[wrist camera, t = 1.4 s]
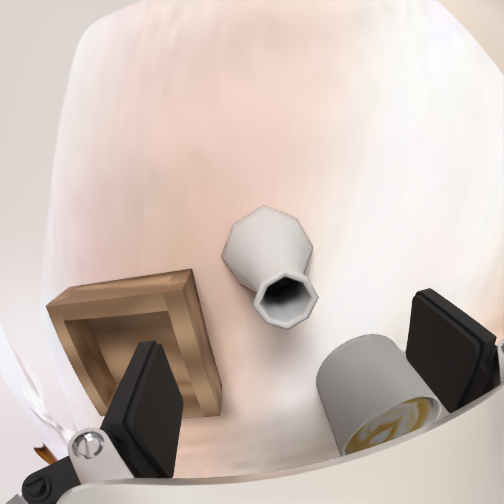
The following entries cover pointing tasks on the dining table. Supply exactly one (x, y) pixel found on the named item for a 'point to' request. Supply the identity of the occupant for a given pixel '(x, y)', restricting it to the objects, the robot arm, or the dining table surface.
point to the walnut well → (138, 336)
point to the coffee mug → (373, 394)
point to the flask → (272, 265)
